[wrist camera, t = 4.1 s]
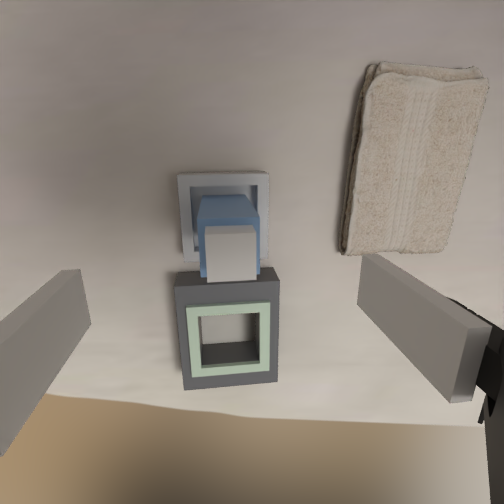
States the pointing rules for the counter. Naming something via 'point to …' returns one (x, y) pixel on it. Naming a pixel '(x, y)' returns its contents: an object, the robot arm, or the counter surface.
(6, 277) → the counter surface
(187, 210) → the grey square tray
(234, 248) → the plug
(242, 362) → the port block
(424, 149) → the washcloth
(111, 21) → the counter surface
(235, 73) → the counter surface
